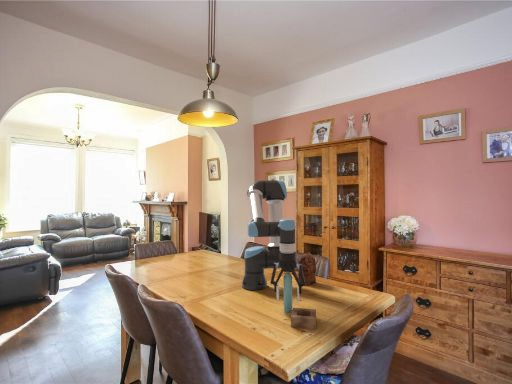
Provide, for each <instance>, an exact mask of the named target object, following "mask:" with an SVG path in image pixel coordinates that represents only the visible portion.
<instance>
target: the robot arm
mask: <svg viewBox="0 0 512 384" xmlns="http://www.w3.org/2000/svg"><path fill="white" fill-rule="evenodd" d="M287 197H288V189H287V185H286V183H285V182H284V180H280V179H279V180H277V179H275V180H267V179H266V180H264V179H263V180H257V181H255V182H253V183H252V184H251V185H250V186H249V187H248V188H247V193H246V198H247V200H248V205H249V216H250V218H249V219H250V222H249V221H248V223H247V236H248V237H249V238H269V240H268V241H269V242H268V244H267V245H266V248H265V247H264V246H263V245H262V246H261V245H260V246H259V245H257V246H251V247H247V248H246V249H245V250H244V256H243V257H244V275H243V278H242V280H241V287H242V288H243V289H245V290H247V291H248V290H249V291H261V290H264V289H266V288H267V287H268V281H267V279H266V275H265V269H267V270H268V269H269V270H270V269H272V273H271V277H270V282H269V283H270V284H271V285H273V291H274V293H276V301H279V298H280V284H278V283H279V281H280V280H281V277H282V275H283V273H287V272H288V273H291V275H293V276H292V277H293V278H294V279H295V282H296V283H297V288H296V290H297V291H296V292H297V297H296V300H297V301H296V302H297V303H299V302H300V295H302V294H303V288H302V287H305V286H306V285H305V284H306V283H305V279H304V275H303V271H302V264H298V262H296V260H297V259H296V257H297V256H296V255H297V254H296V251H297V250H296V229H297V228H296V221H295V219H293V218H284V217H283V203H284V202H285V199H287ZM263 200H265V202H266V203H267V205H268V221H266V220H265V219H266V218H265V213H264V205H263ZM296 267H297V269H298V272H300V276H301V280H302V283H301V282H300V280H299V278H298V274H297V272H296V270H295V268H296ZM277 269H280V272H279V273H278V275H277V278H276V273H277ZM275 278H276V279H275Z"/></svg>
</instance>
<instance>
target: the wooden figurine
mask: <svg viewBox="0 0 512 384" xmlns="http://www.w3.org/2000/svg"><path fill="white" fill-rule="evenodd" d="M316 263H317V261H316V259H315V258H314V257H313V255H312V254H310V253H305V254H302V255H301V256H300V258H299V260H298V262H297V264H302V271H303V275H304V279H305V283H306V284H305V286H310V285H313V284H314V283H315V284H316V283H317V279H316V272H317V267H316ZM297 276H298V278H299V280H300V282H301V283H302V280H301V276H300V272H299V271H298V274H297Z"/></svg>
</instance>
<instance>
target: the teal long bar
mask: <svg viewBox="0 0 512 384" xmlns="http://www.w3.org/2000/svg"><path fill="white" fill-rule="evenodd" d="M292 310H293V276H292V273H291V272H284V274H283V312H285V313H292Z"/></svg>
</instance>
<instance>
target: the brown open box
mask: <svg viewBox="0 0 512 384" xmlns="http://www.w3.org/2000/svg"><path fill="white" fill-rule="evenodd" d="M290 327H291V328H300V329H308V330H309V329H310V330H317V309H316V308H315V309H314V308H305V307H304V308H303V307H292V312H291V315H290Z"/></svg>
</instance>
